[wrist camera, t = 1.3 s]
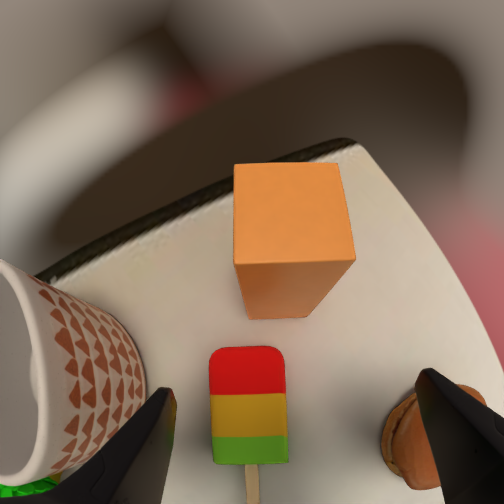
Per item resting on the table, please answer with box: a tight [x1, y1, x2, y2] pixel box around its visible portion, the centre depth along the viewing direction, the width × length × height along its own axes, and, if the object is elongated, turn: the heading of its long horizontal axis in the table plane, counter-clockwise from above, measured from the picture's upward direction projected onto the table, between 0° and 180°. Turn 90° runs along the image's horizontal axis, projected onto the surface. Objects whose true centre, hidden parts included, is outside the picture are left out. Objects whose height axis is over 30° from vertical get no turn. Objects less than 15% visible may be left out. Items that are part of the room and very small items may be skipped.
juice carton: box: [233, 163, 356, 319], centre depth 17 cm, size 5×5×13 cm
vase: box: [0, 259, 146, 486], centre depth 15 cm, size 14×14×13 cm
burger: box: [381, 384, 487, 490], centre depth 16 cm, size 10×9×5 cm
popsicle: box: [209, 346, 288, 504], centre depth 18 cm, size 6×15×2 cm, turn 2°
